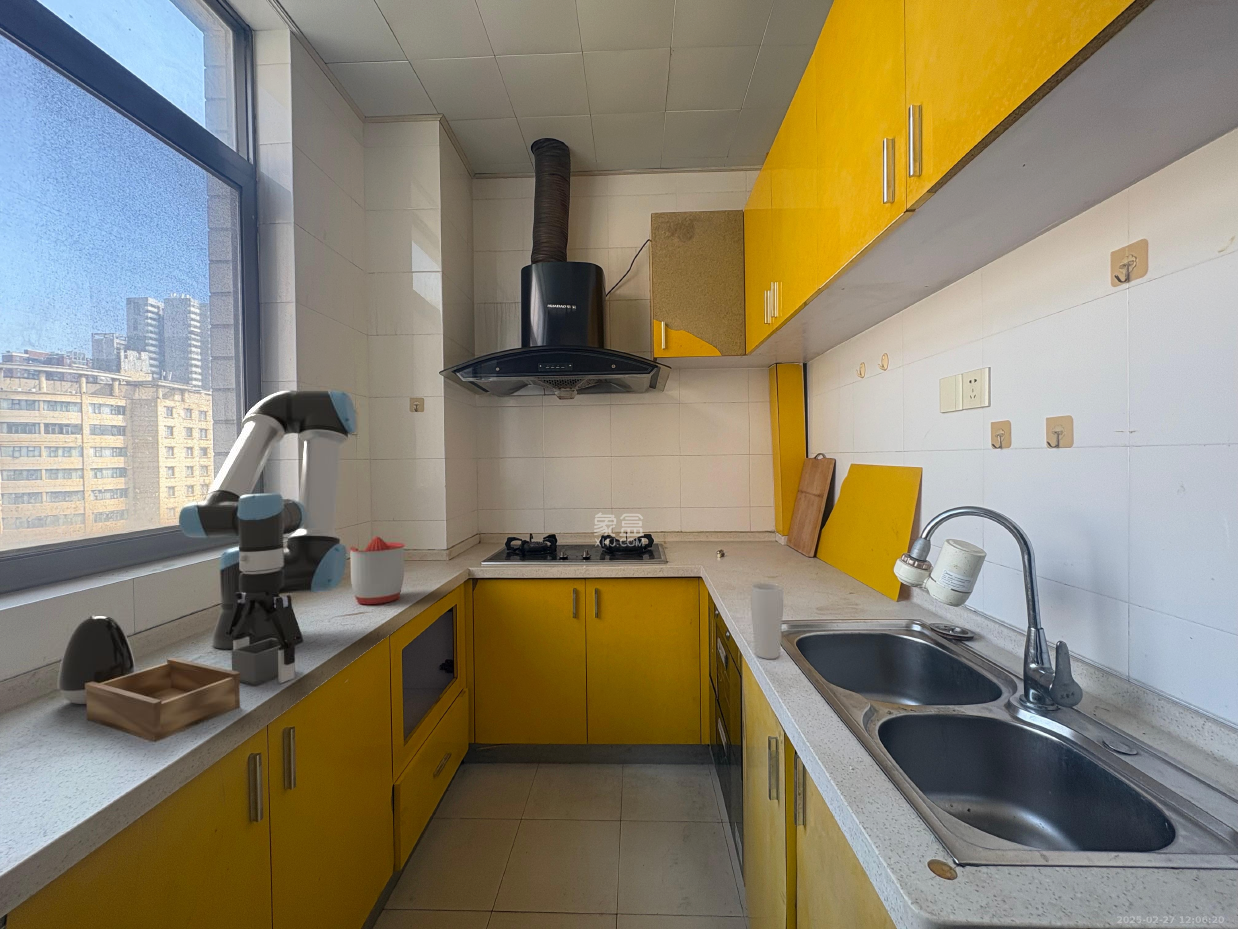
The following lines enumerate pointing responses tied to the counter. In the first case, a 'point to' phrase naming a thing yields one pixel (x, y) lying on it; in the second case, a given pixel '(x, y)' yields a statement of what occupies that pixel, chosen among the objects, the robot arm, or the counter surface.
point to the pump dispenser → (94, 657)
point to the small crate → (257, 662)
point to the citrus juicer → (377, 571)
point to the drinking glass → (767, 618)
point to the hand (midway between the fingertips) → (263, 675)
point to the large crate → (163, 698)
